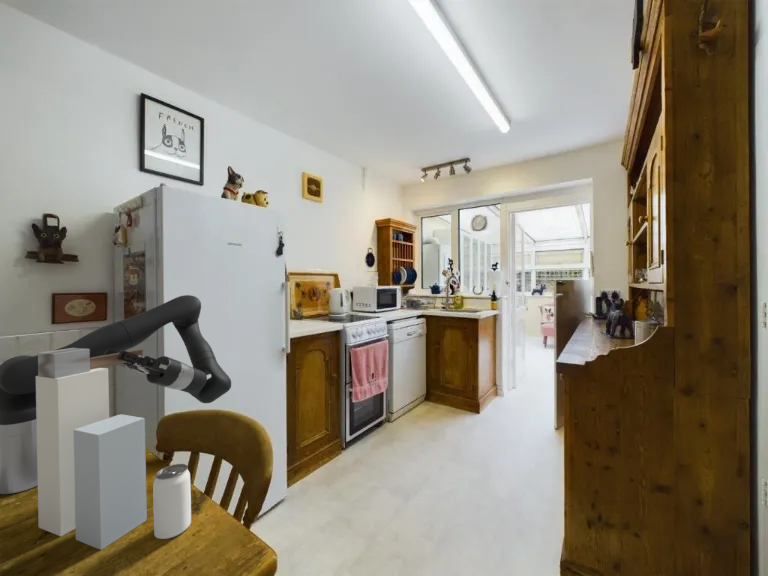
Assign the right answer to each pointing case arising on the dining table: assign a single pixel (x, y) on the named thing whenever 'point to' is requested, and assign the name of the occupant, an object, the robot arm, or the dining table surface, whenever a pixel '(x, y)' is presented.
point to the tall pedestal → (64, 440)
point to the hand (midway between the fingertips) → (112, 354)
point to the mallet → (74, 362)
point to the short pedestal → (109, 479)
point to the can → (171, 501)
